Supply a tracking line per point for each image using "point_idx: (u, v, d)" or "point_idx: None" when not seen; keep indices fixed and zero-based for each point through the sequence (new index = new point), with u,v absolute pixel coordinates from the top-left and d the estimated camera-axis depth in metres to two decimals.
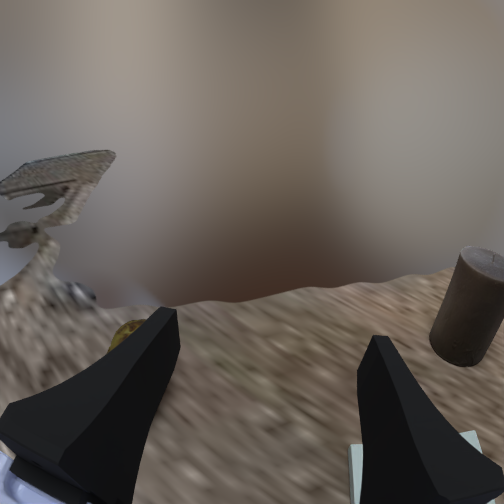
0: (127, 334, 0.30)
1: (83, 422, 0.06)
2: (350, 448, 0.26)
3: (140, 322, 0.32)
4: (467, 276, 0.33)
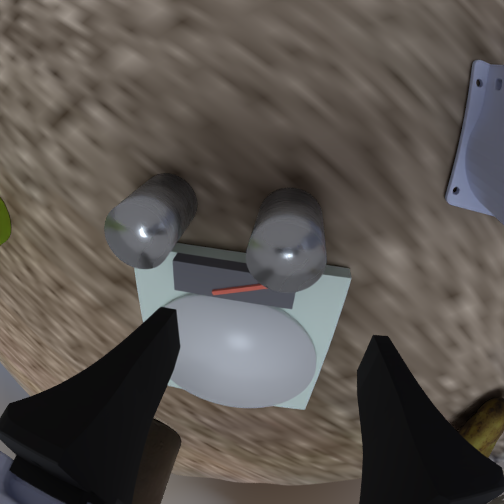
0: None
1: (83, 422, 0.06)
2: None
3: None
4: None
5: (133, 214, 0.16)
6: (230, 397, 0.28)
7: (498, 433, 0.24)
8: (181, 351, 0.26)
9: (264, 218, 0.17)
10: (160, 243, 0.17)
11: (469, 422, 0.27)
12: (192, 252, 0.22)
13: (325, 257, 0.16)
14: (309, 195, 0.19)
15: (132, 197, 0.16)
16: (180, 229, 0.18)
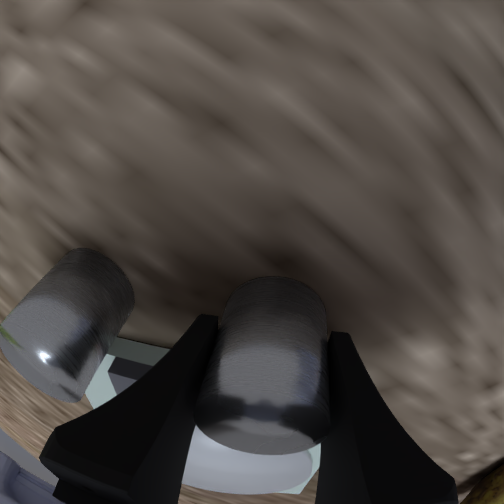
0: None
1: (145, 443, 0.06)
2: None
3: None
4: None
5: (21, 340, 0.08)
6: (210, 485, 0.21)
7: None
8: None
9: (222, 359, 0.09)
10: (67, 381, 0.09)
11: (484, 484, 0.20)
12: (135, 356, 0.14)
13: (328, 427, 0.08)
14: (305, 290, 0.11)
15: (21, 308, 0.09)
16: (100, 350, 0.10)
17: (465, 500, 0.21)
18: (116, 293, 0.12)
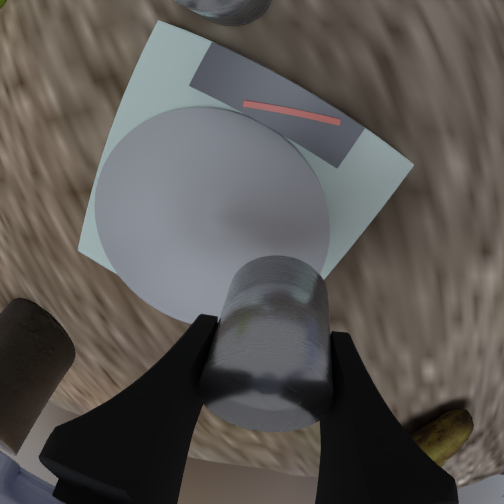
0: None
1: (144, 443, 0.06)
2: None
3: None
4: (17, 438, 0.19)
5: None
6: (173, 298, 0.21)
7: (457, 449, 0.23)
8: (141, 198, 0.17)
9: (230, 329, 0.09)
10: None
11: (426, 429, 0.26)
12: (235, 52, 0.14)
13: (331, 400, 0.09)
14: (309, 269, 0.12)
15: None
16: None
17: None
18: None
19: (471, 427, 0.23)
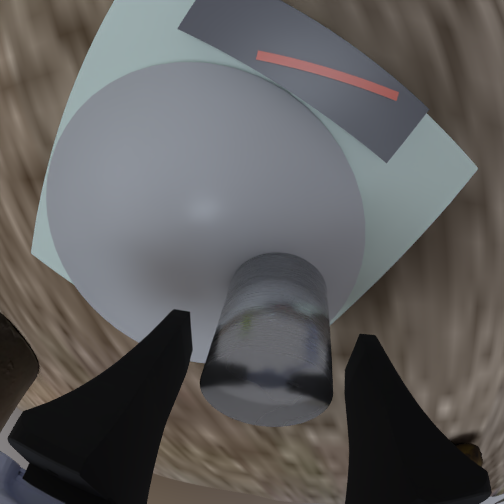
0: None
1: (102, 429, 0.06)
2: None
3: None
4: None
5: None
6: (145, 323, 0.15)
7: None
8: (103, 189, 0.12)
9: (231, 324, 0.10)
10: None
11: None
12: None
13: (331, 394, 0.09)
14: (309, 266, 0.12)
15: None
16: None
17: None
18: None
19: (480, 464, 0.19)
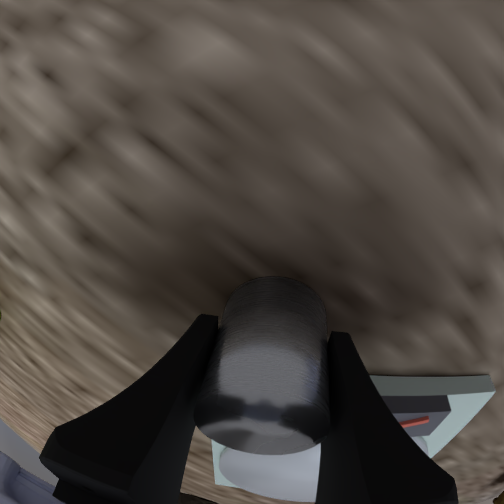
0: None
1: (144, 443, 0.06)
2: None
3: None
4: None
5: (265, 405, 0.08)
6: (310, 497, 0.20)
7: None
8: (264, 471, 0.17)
9: None
10: (309, 435, 0.08)
11: None
12: None
13: None
14: None
15: (254, 365, 0.08)
16: None
17: None
18: (325, 326, 0.11)
19: None
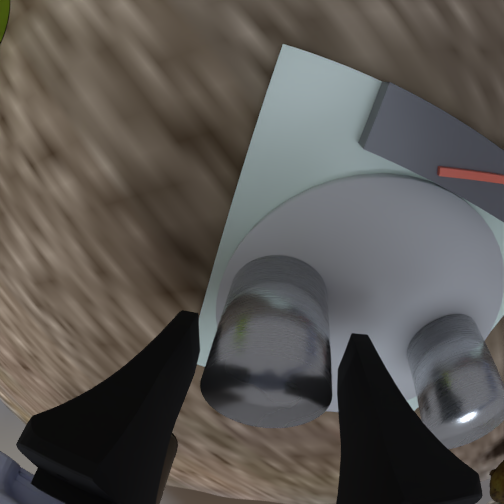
0: None
1: (114, 433, 0.06)
2: None
3: None
4: None
5: (271, 370, 0.08)
6: None
7: None
8: None
9: (444, 389, 0.10)
10: (312, 405, 0.09)
11: None
12: None
13: None
14: (469, 319, 0.12)
15: (261, 331, 0.09)
16: None
17: None
18: (326, 303, 0.12)
19: None
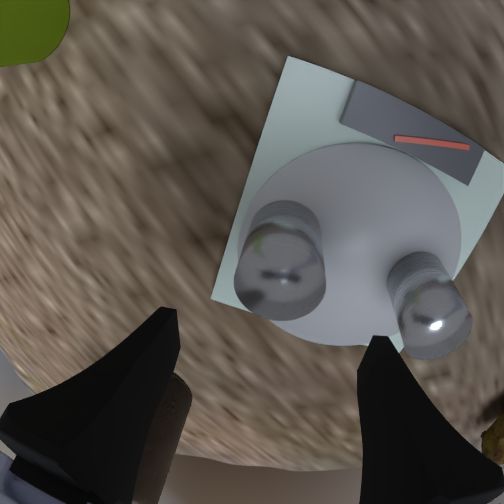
0: None
1: (83, 422, 0.06)
2: None
3: (502, 463, 0.22)
4: (156, 498, 0.20)
5: (284, 259, 0.13)
6: (323, 326, 0.21)
7: None
8: None
9: (413, 299, 0.15)
10: (312, 293, 0.14)
11: None
12: None
13: (471, 322, 0.14)
14: (433, 256, 0.17)
15: (276, 235, 0.14)
16: None
17: None
18: (320, 233, 0.17)
19: None
